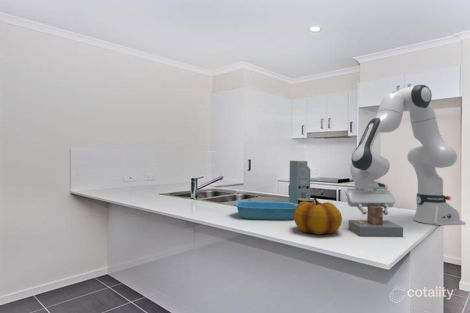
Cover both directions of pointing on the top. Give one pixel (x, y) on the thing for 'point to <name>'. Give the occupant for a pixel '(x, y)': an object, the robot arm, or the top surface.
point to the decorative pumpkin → (317, 217)
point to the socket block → (375, 229)
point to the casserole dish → (266, 210)
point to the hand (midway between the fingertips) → (375, 213)
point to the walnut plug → (375, 215)
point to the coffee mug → (305, 200)
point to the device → (299, 181)
